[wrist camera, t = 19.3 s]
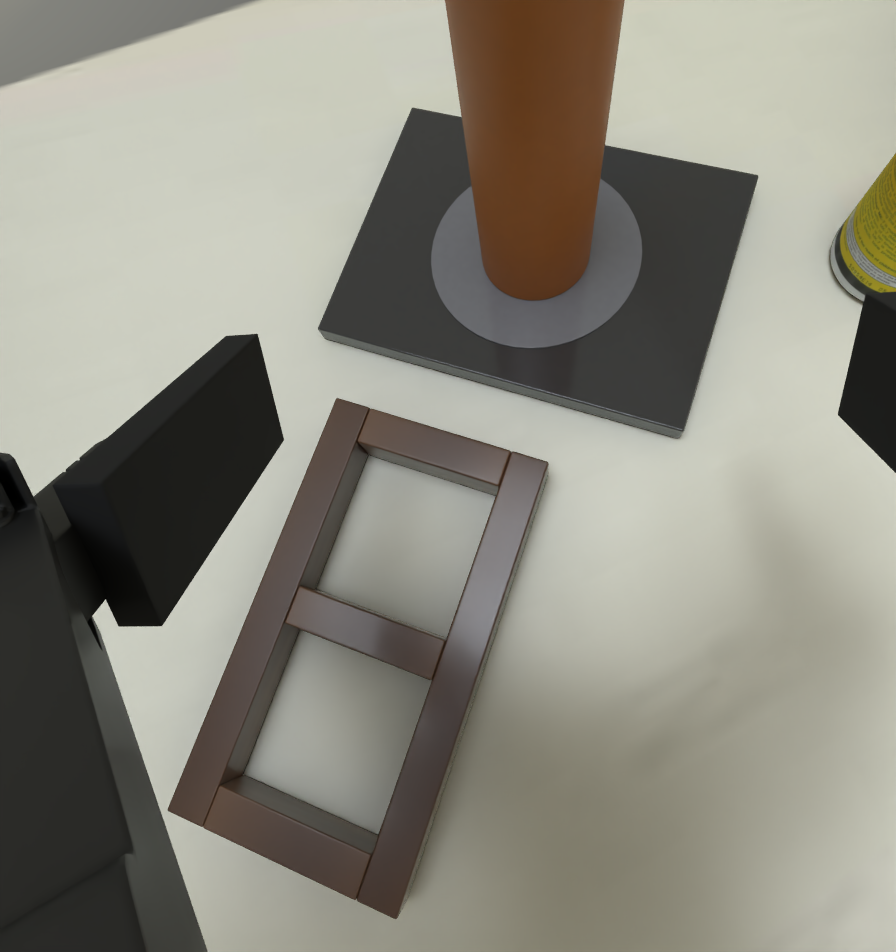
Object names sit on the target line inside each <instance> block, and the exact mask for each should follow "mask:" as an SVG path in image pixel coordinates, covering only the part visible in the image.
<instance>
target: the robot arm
mask: <svg viewBox="0 0 896 952" xmlns="http://www.w3.org/2000/svg"><path fill="white" fill-rule="evenodd" d="M838 415H839V416H840V417H841V418H842V419H843V420H844V421H845V422H846V423H847V424H848V426H849V427H850V428H851V429H852V430H853V431H854V432H855V433H856V434H857V435H858V436H859V437H860V438H861V439H862V440H863V441H864V442H865V443H866V444H867V445H868V446H869V447H870V448H871V449H872V450H873V451H874V452H875V453H876V454H877V455H878V456H879V457H880V458H881V459H882V460H883V461H884V462H885V463H886V464H887V465H888V466H889V467H890V468H891V469H892V470H893V471H894V472H895V473H896V292H882V293H867V294H865V298H864V303H863V307H862V311H861V316H860V320H859V325H858V329H857V333H856V338H855V342H854V346H853V351H852V355H851V359H850V364H849V368H848V372H847V377H846V381H845V385H844V390H843V394H842V398H841V403H840V407H839V411H838ZM283 441H284V438H283V434H282V430H281V426H280V422H279V418H278V414H277V410H276V406H275V402H274V398H273V394H272V390H271V386H270V382H269V378H268V374H267V370H266V366H265V362H264V358H263V354H262V350H261V346H260V342H259V338H258V334H250V335H235V336H226V337H224V338H223V339H222V340H221V341H220V342H219V343H217V344H216V345H215V346H214V347H213V348H212V349H210V350H209V351H208V352H207V353H206V354H205V355H203V356H202V357H201V358H200V359H199V360H198V361H196V362H195V363H194V364H193V365H192V366H191V367H189V368H188V369H187V370H186V371H185V372H184V373H182V374H181V375H180V376H179V377H178V378H177V379H175V380H174V381H173V382H172V383H171V384H170V385H168V386H167V387H166V388H165V389H164V390H163V391H161V392H160V393H159V394H158V395H157V396H156V397H154V398H153V399H152V400H151V401H150V402H149V403H147V404H146V405H145V406H144V407H143V408H142V409H141V410H139V411H138V412H137V413H136V414H135V415H134V416H132V417H131V418H130V419H129V420H128V421H127V422H125V423H124V424H123V425H122V426H121V427H120V428H118V429H117V430H116V431H115V432H114V433H113V434H111V435H110V436H109V437H108V438H106V439H104V440H103V441H101V442H99V443H97V444H95V445H94V446H93V447H92V448H91V449H89V450H88V451H87V452H86V453H85V454H84V455H82V456H81V457H80V461H75V462H74V463H73V464H72V465H71V466H69V467H68V468H67V469H66V472H62V473H61V474H60V475H59V476H58V477H56V478H55V479H54V480H53V481H52V482H51V483H49V484H48V485H47V486H46V487H45V488H44V489H42V490H41V491H40V492H39V493H38V494H36V495H35V496H34V497H33V495H32V493H31V491H30V489H29V487H28V485H27V483H26V481H25V479H24V477H23V475H22V473H21V471H20V469H19V467H18V465H17V463H16V461H15V459H14V458H13V457H12V456H11V455H10V454H5V453H0V952H208V951H207V948H206V945H205V942H204V939H203V936H202V933H201V930H200V927H199V925H198V922H197V919H196V916H195V913H194V910H193V907H192V904H191V901H190V898H189V895H188V892H187V889H186V886H185V883H184V880H183V877H182V874H181V871H180V868H179V865H178V862H177V859H176V856H175V853H174V850H173V847H172V844H171V841H170V838H169V835H168V832H167V829H166V826H165V823H164V820H163V818H162V815H161V812H160V809H159V806H158V803H157V800H156V797H155V794H154V791H153V788H152V785H151V782H150V779H149V776H148V773H147V770H146V767H145V764H144V761H143V758H142V755H141V752H140V749H139V746H138V743H137V740H136V737H135V734H134V731H133V728H132V725H131V722H130V719H129V716H128V714H127V711H126V708H125V705H124V702H123V699H122V696H121V693H120V690H119V687H118V684H117V681H116V678H115V675H114V672H113V669H112V666H111V663H110V660H109V657H108V654H107V651H106V648H105V645H104V642H103V639H102V636H101V633H100V631H99V629H98V627H97V625H96V623H95V621H94V619H93V617H92V615H93V614H94V613H95V612H96V610H97V609H98V608H99V607H100V605H101V604H102V603H103V602H104V600H105V599H106V600H107V603H108V605H109V607H110V609H111V611H112V613H113V615H114V617H115V620H116V622H117V624H118V626H162V625H163V624H164V622H165V621H166V619H167V618H168V616H169V615H170V613H171V611H172V610H173V608H174V607H175V605H176V604H177V602H178V601H179V599H180V598H181V596H182V595H183V593H184V592H185V590H186V589H187V587H188V586H189V584H190V582H191V581H192V579H193V578H194V576H195V575H196V573H197V572H198V570H199V569H200V567H201V566H202V564H203V563H204V561H205V560H206V558H207V557H208V555H209V553H210V552H211V550H212V549H213V547H214V546H215V544H216V543H217V541H218V540H219V538H220V537H221V535H222V534H223V532H224V531H225V529H226V528H227V526H228V524H229V523H230V521H231V520H232V518H233V517H234V515H235V514H236V512H237V511H238V509H239V508H240V506H241V505H242V503H243V502H244V500H245V499H246V497H247V495H248V494H249V492H250V491H251V489H252V488H253V486H254V485H255V483H256V482H257V480H258V479H259V477H260V476H261V474H262V473H263V471H264V470H265V468H266V466H267V465H268V463H269V462H270V460H271V459H272V457H273V456H274V454H275V453H276V451H277V450H278V448H279V447H280V445H281V444H282V442H283Z"/></svg>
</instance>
